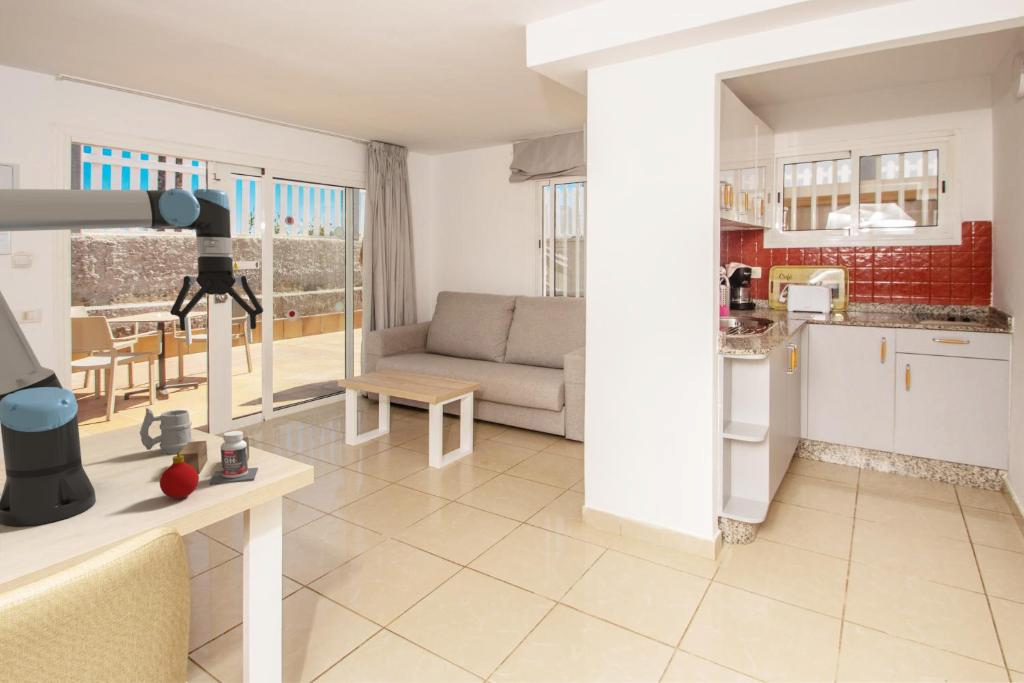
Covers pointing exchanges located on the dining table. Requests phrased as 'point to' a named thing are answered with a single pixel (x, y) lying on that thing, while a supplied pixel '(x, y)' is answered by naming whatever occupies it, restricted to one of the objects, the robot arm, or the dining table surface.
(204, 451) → the block
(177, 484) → the christmas ornament
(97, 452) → the dining table surface
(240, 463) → the pill bottle
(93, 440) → the dining table surface
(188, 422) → the mug
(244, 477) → the pad
